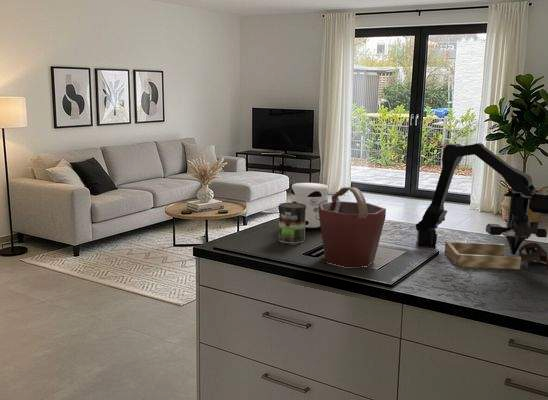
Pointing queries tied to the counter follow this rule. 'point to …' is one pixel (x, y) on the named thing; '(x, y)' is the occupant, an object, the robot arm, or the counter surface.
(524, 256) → the pottery mug
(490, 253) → the wooden frame
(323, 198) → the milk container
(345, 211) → the bucket
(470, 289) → the counter surface
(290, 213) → the coffee can
